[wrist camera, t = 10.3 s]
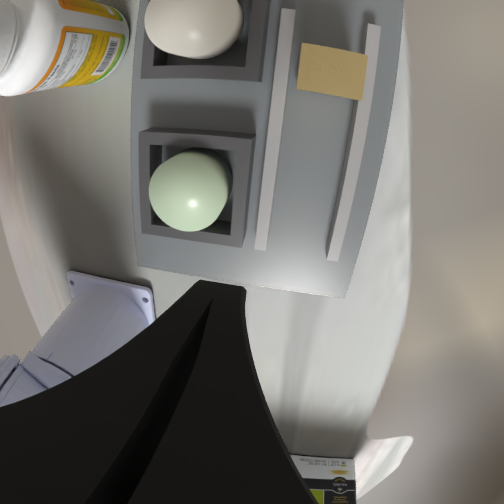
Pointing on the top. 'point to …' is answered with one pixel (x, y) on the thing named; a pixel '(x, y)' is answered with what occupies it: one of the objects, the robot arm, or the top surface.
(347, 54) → the tan wooden block
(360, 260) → the top surface
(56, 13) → the supplement bottle
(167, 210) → the sage button
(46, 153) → the top surface
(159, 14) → the white button
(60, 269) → the top surface
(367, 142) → the panel
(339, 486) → the tea box
